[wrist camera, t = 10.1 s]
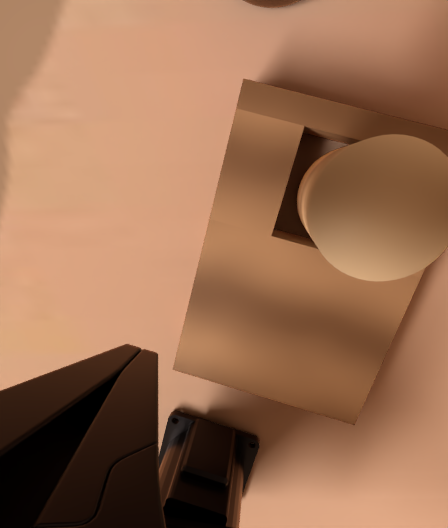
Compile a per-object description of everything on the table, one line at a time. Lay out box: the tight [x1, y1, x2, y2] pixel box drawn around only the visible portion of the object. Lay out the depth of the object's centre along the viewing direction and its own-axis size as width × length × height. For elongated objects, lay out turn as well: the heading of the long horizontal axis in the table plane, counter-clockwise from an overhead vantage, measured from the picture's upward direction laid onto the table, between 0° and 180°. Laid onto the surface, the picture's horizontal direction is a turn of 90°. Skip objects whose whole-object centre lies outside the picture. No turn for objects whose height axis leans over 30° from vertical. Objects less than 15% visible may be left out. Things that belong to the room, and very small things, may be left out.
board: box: [173, 79, 448, 425], centre depth 19 cm, size 16×11×2 cm
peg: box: [297, 134, 448, 281], centre depth 15 cm, size 4×4×9 cm
